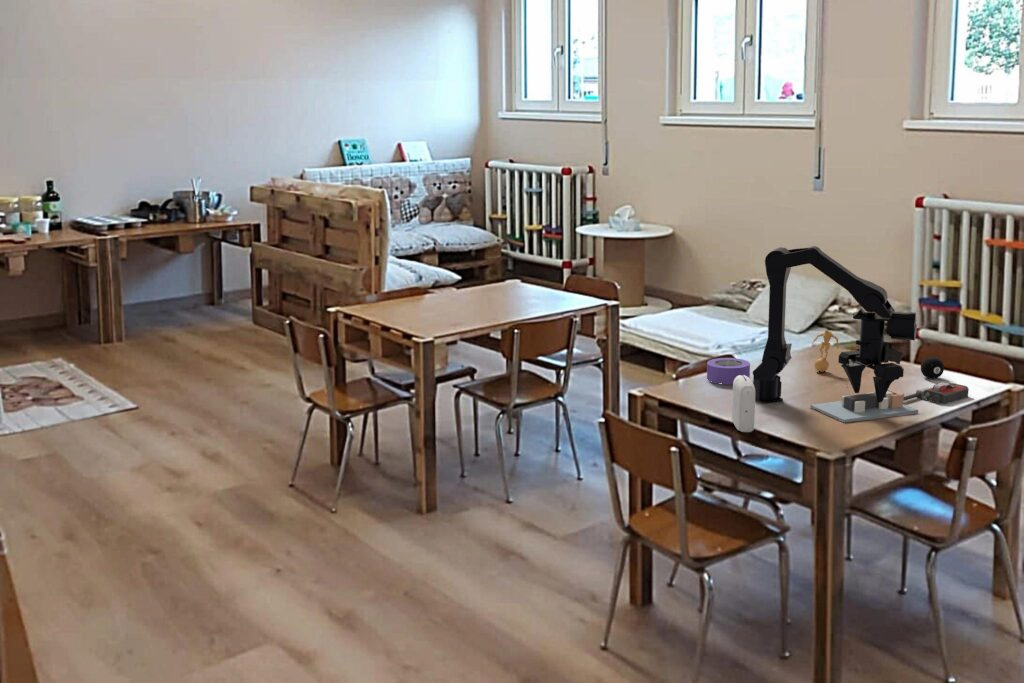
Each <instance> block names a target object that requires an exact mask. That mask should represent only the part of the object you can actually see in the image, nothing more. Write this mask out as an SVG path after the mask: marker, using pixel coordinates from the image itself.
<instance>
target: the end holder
mask: <svg viewBox="0 0 1024 683" xmlns="http://www.w3.org/2000/svg"><path fill="white" fill-rule="evenodd" d="M887 391H889V392H892V393H893V395H891V401H890V408H898V407H903V404H904V401H903V399H904V397H905V395H904V393H901V392H898V391H895V390H893V389H890V388H888V390H887ZM875 392H876V391H874V393H875Z"/></svg>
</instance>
